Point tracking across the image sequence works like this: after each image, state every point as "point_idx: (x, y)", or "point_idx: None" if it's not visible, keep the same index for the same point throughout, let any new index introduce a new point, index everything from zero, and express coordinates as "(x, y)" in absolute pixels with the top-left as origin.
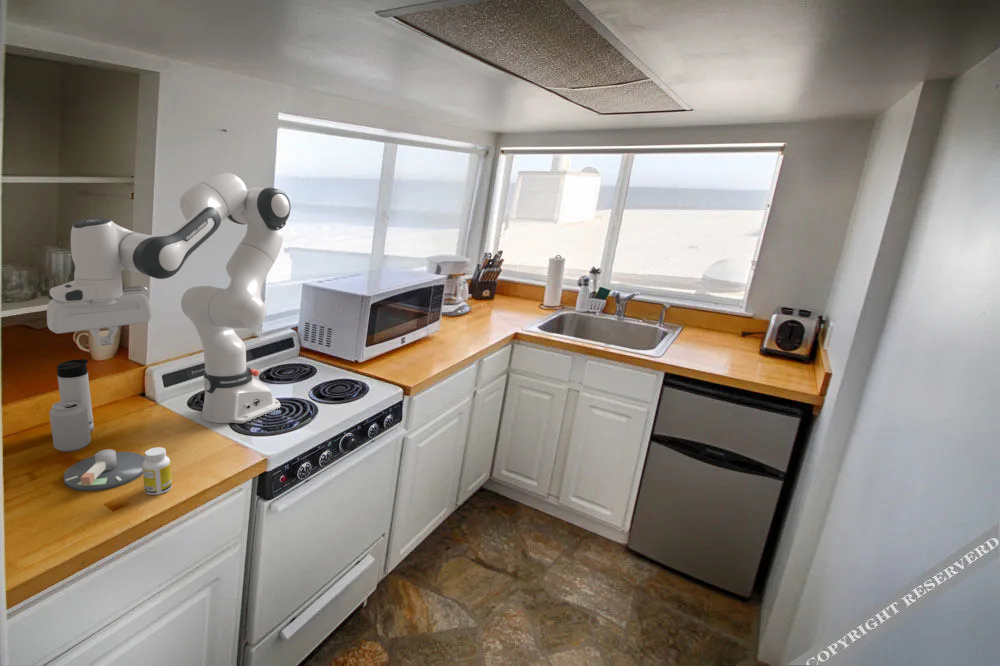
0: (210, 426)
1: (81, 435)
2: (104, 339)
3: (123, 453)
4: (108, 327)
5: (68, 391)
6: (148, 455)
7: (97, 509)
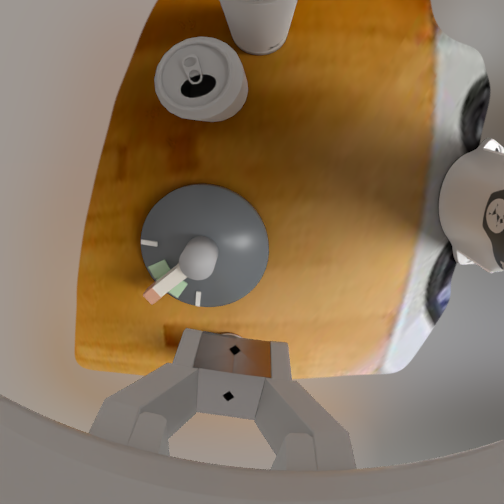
0: (426, 223)
1: (214, 120)
2: (214, 409)
3: (251, 219)
4: (280, 464)
5: (227, 8)
6: None
7: (153, 329)
